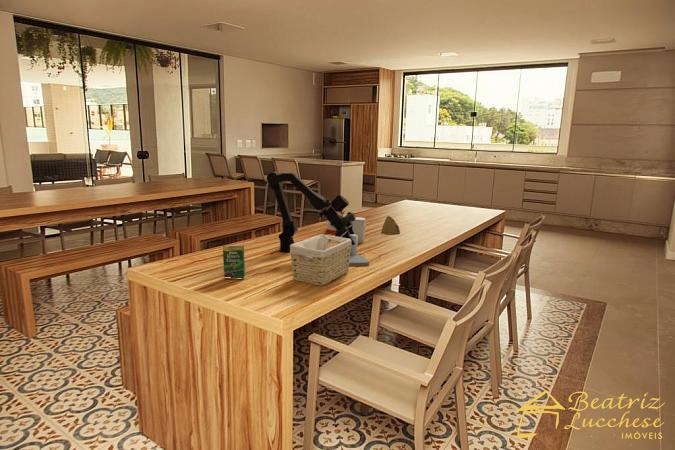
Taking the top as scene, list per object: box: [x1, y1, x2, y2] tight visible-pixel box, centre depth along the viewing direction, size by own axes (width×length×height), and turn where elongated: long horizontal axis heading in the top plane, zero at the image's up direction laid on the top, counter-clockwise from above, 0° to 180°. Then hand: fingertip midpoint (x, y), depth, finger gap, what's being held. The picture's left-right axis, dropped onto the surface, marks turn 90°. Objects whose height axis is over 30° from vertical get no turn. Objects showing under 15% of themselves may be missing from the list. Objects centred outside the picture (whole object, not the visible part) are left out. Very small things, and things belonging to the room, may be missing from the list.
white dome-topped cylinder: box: [349, 234, 359, 255], centre depth 209 cm, size 4×4×10 cm
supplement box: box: [350, 216, 367, 244], centre depth 238 cm, size 7×7×13 cm
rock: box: [380, 215, 401, 234], centre depth 261 cm, size 11×9×10 cm
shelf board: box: [349, 254, 370, 267], centre depth 199 cm, size 14×12×2 cm
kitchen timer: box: [326, 209, 346, 234], centre depth 262 cm, size 14×14×15 cm
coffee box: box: [222, 245, 246, 279], centre depth 170 cm, size 8×3×13 cm, turn 90°
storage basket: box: [289, 233, 352, 287], centre depth 176 cm, size 24×16×15 cm
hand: (355, 242), depth 209 cm, fingers open, 9 cm apart
